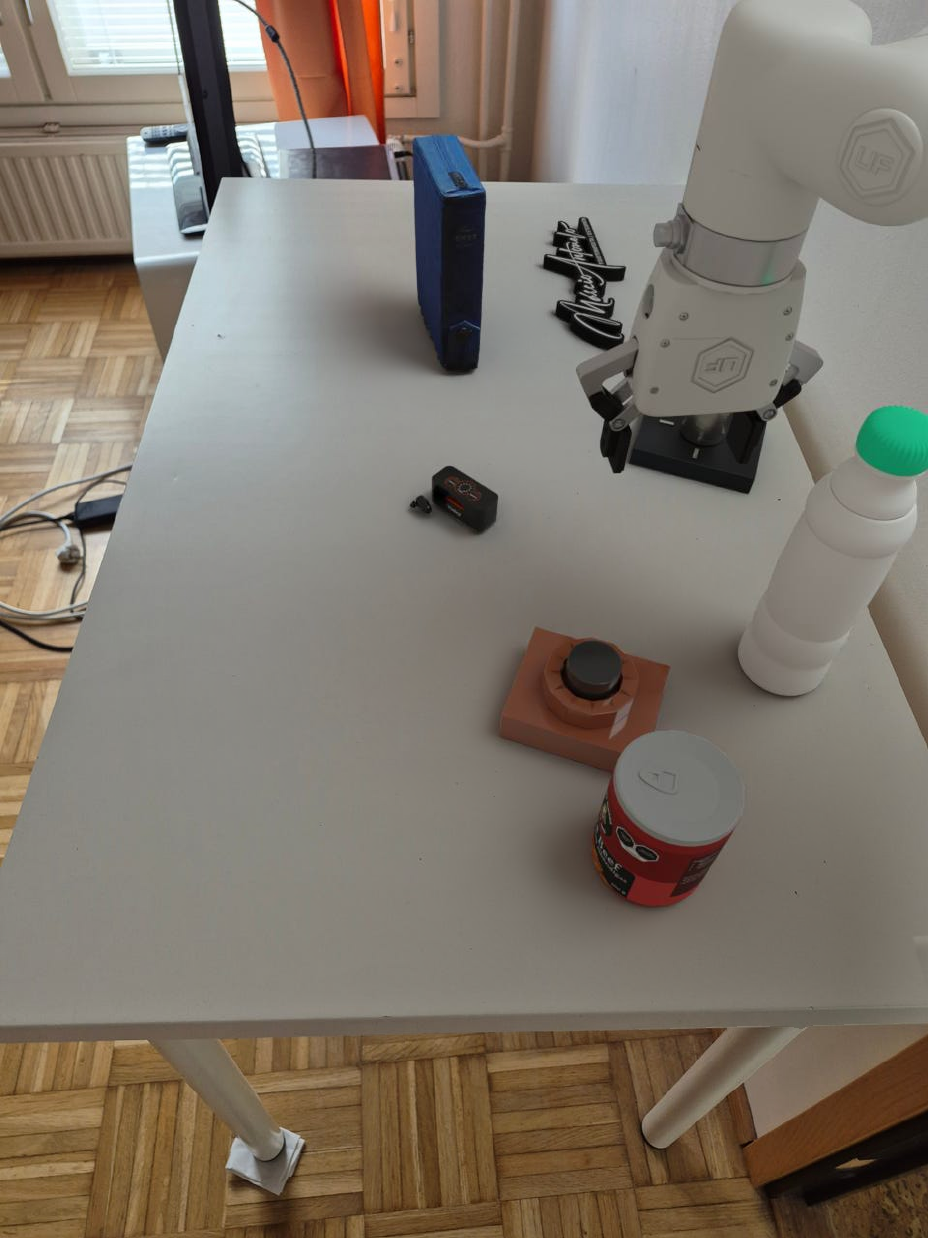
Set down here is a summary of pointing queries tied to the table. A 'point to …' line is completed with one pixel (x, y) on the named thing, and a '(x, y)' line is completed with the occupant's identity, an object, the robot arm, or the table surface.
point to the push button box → (580, 704)
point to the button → (593, 670)
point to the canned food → (665, 817)
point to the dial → (705, 428)
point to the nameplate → (586, 284)
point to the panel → (692, 455)
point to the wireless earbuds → (461, 499)
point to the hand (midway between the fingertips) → (675, 456)
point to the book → (449, 248)
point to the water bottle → (838, 554)
